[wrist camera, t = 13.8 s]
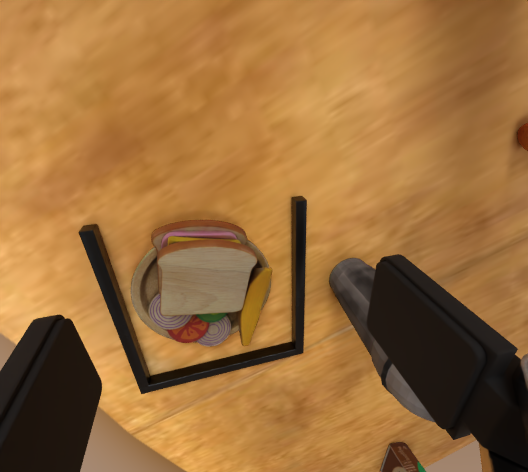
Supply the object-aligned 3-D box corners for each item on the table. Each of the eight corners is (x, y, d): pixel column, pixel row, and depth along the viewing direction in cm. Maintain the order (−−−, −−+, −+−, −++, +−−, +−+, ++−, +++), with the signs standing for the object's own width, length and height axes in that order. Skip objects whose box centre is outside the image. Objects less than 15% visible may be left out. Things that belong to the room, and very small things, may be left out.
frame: (83, 225, 22) (78, 232, 21) (301, 195, 26) (306, 200, 25) (142, 384, 31) (141, 394, 30) (299, 345, 35) (303, 353, 34)
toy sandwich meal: (125, 331, 28) (115, 373, 24) (144, 199, 23) (136, 224, 19) (248, 335, 32) (259, 372, 28) (287, 226, 27) (306, 250, 23)
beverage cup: (318, 309, 33) (472, 554, 16) (315, 256, 29) (507, 495, 12) (376, 292, 34) (578, 502, 17) (379, 239, 30) (639, 435, 13)
